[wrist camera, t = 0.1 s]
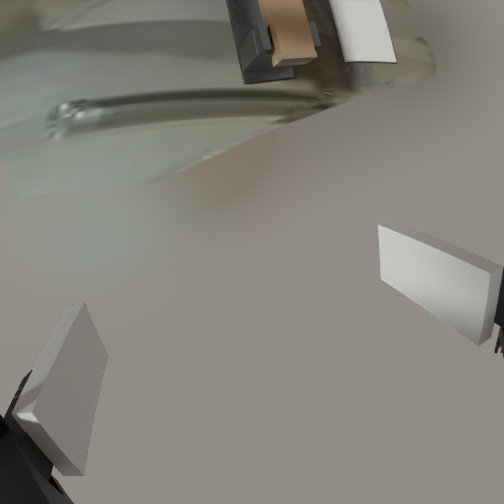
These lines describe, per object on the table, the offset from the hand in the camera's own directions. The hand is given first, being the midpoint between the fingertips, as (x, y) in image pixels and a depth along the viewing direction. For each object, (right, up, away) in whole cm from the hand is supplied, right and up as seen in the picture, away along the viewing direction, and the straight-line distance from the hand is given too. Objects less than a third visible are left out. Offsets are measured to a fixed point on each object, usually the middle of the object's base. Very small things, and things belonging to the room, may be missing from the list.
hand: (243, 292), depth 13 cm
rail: (+2, +31, +12) cm, 33 cm away
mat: (+15, +40, +21) cm, 48 cm away
